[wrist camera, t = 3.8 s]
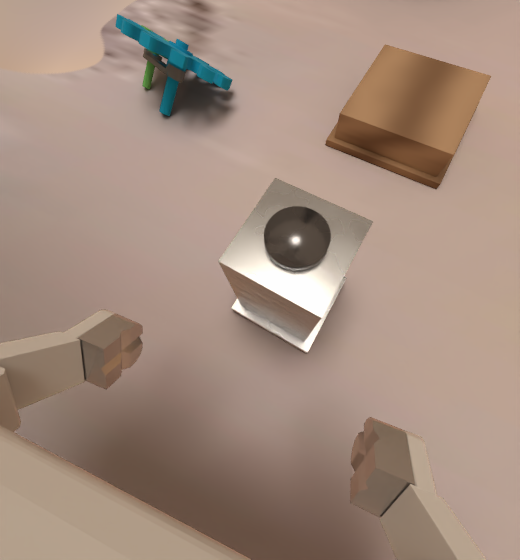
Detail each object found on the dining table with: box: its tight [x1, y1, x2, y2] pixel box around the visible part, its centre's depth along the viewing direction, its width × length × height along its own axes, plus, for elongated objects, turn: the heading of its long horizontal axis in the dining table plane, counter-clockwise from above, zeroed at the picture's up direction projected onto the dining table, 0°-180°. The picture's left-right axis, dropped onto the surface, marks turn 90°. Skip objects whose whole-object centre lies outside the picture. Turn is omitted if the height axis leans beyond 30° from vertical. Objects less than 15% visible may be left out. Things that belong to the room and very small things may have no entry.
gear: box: [116, 14, 232, 116], centre depth 26 cm, size 11×6×10 cm
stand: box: [326, 45, 491, 189], centre depth 24 cm, size 10×10×3 cm
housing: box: [218, 178, 373, 353], centre depth 16 cm, size 6×6×10 cm
